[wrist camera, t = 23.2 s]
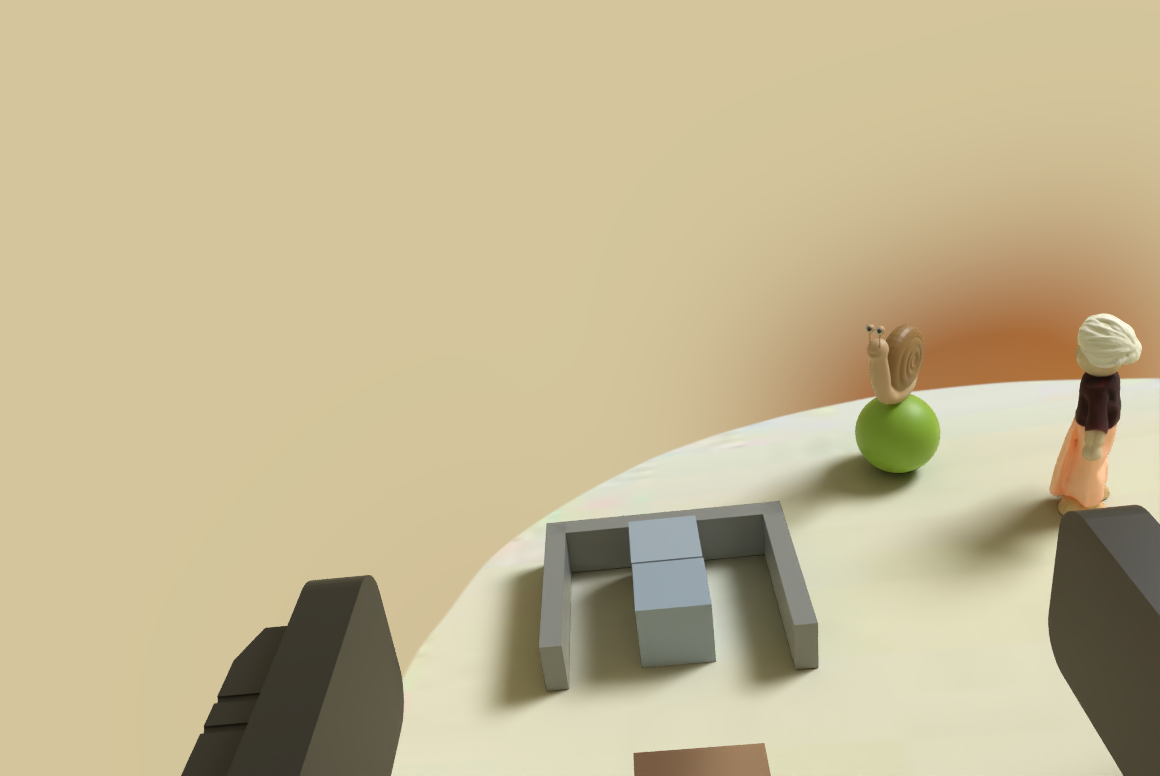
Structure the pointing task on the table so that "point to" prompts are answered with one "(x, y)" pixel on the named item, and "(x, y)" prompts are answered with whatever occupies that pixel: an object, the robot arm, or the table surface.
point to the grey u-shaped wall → (719, 538)
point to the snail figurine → (896, 405)
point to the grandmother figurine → (1094, 413)
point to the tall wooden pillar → (704, 762)
